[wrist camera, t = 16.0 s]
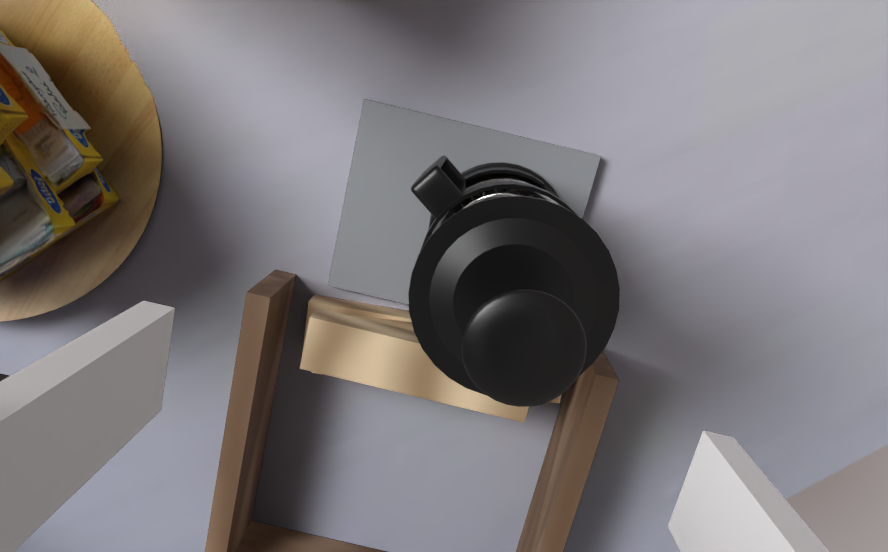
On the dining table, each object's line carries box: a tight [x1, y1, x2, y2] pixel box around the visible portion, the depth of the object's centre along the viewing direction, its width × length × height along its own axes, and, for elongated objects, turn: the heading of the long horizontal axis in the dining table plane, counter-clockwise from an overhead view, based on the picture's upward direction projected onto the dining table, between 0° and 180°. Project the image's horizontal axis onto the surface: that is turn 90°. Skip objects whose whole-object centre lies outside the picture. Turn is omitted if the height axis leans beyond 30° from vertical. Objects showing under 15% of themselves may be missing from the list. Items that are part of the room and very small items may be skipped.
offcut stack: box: [300, 295, 561, 422], centre depth 44 cm, size 18×5×6 cm, turn 80°
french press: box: [408, 155, 619, 407], centre depth 32 cm, size 12×9×23 cm
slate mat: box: [328, 99, 601, 305], centre depth 44 cm, size 16×13×1 cm
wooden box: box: [205, 270, 619, 552], centre depth 41 cm, size 24×22×15 cm
